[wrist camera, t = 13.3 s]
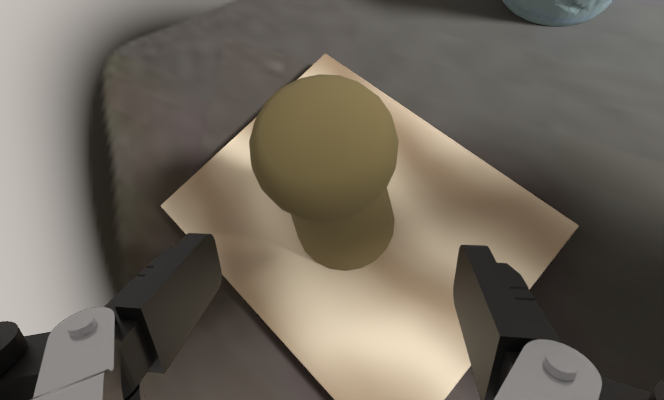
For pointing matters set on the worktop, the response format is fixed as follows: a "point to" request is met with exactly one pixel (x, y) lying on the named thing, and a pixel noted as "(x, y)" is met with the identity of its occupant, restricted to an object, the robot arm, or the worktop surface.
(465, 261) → the robot arm
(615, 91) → the worktop surface
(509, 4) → the blue-grey cup
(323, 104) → the cork
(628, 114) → the worktop surface
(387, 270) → the birch board
